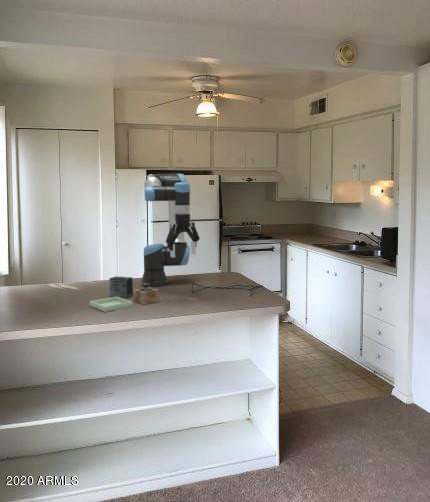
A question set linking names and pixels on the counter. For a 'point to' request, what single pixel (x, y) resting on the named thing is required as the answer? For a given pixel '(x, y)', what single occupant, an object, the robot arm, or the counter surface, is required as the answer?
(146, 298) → the collar
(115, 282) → the small box
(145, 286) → the dark grey knobbed stand
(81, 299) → the counter surface
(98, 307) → the tray
